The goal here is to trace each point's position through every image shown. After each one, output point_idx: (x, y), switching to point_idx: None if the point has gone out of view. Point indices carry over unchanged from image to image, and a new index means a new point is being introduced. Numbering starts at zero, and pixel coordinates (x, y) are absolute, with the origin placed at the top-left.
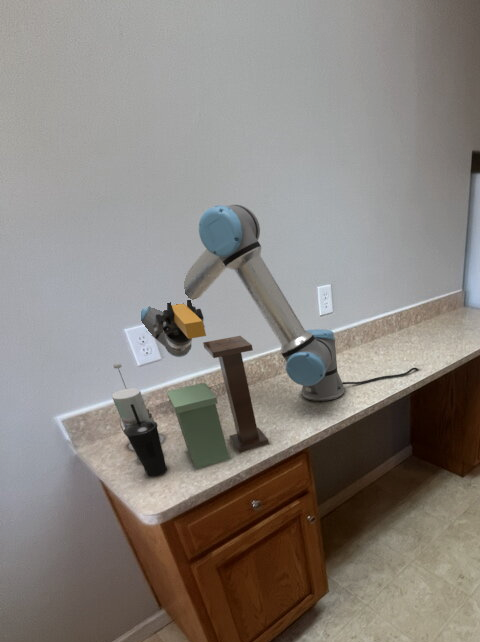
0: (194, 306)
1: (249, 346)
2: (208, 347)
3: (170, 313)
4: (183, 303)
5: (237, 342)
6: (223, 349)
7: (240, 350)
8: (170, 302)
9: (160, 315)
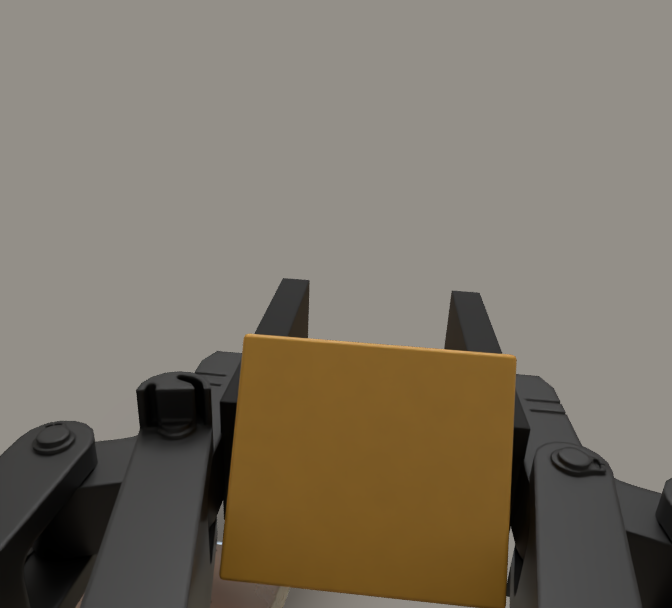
0: (218, 351)
1: None
2: (274, 587)
3: None
4: (257, 334)
5: None
6: None
7: None
8: (453, 291)
9: (661, 500)
